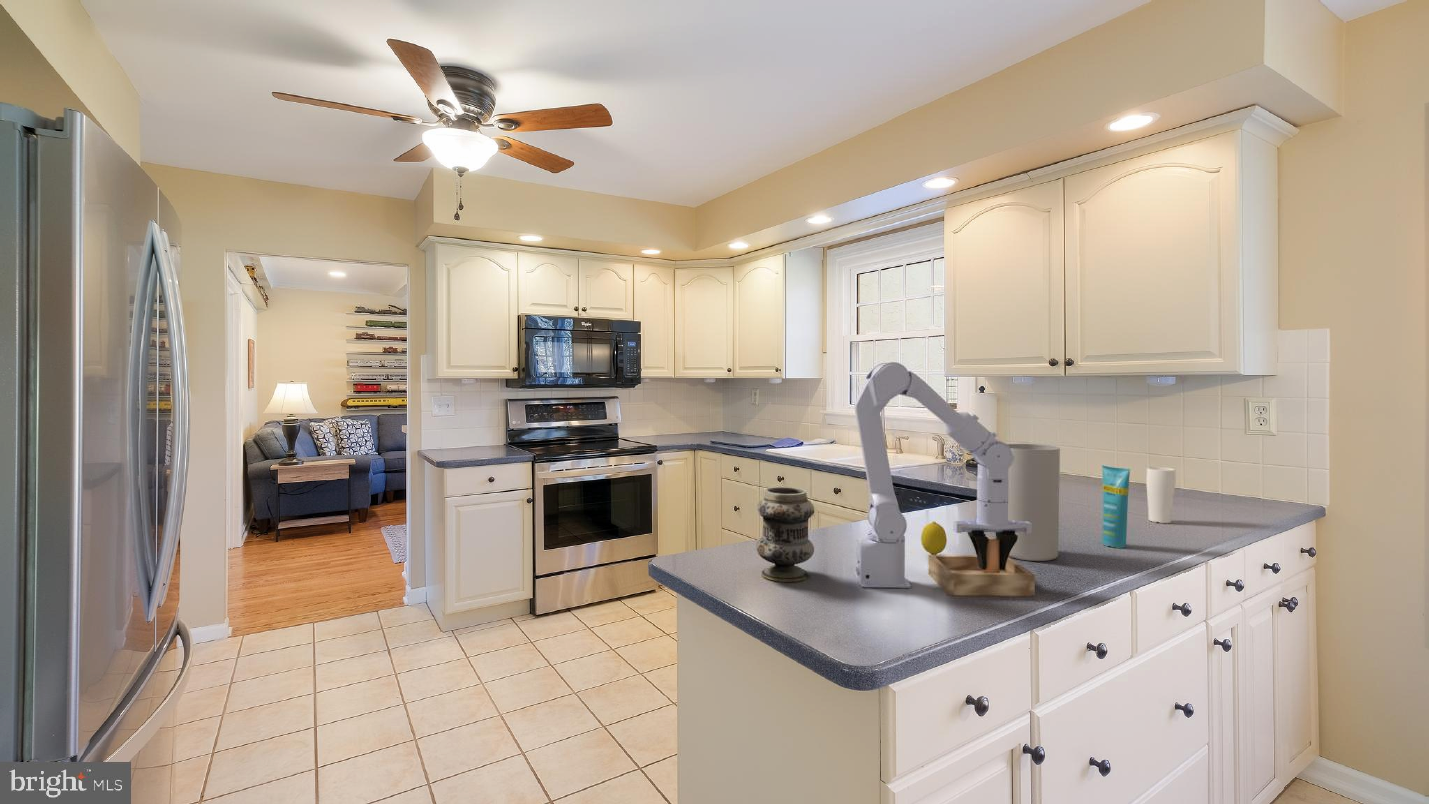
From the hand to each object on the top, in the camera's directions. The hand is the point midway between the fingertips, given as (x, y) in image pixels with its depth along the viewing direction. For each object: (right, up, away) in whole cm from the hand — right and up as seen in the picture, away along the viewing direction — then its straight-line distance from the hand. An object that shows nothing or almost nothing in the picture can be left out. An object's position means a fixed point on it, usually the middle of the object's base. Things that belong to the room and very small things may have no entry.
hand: (991, 568), depth 128 cm
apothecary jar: (-40, -3, +7) cm, 41 cm away
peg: (0, -2, 0) cm, 2 cm away
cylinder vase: (+17, -3, +21) cm, 28 cm away
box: (-3, -3, 0) cm, 4 cm away
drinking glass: (+70, -1, +53) cm, 88 cm away
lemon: (-5, -3, +20) cm, 21 cm away
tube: (+42, -2, +28) cm, 51 cm away
